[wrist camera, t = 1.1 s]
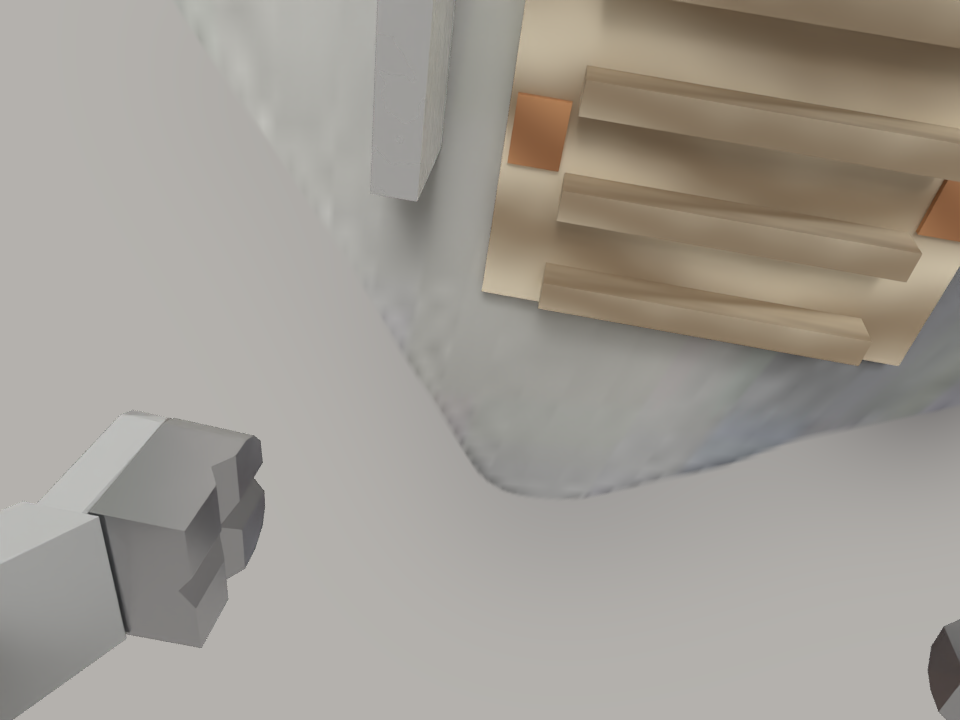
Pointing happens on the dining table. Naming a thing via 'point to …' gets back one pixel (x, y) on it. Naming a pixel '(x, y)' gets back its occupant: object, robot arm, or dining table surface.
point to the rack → (735, 169)
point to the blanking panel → (409, 93)
